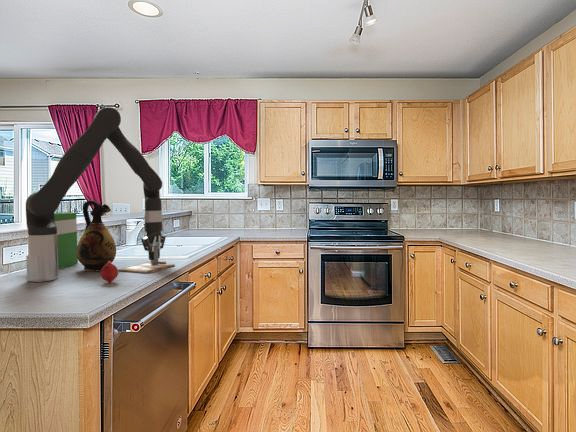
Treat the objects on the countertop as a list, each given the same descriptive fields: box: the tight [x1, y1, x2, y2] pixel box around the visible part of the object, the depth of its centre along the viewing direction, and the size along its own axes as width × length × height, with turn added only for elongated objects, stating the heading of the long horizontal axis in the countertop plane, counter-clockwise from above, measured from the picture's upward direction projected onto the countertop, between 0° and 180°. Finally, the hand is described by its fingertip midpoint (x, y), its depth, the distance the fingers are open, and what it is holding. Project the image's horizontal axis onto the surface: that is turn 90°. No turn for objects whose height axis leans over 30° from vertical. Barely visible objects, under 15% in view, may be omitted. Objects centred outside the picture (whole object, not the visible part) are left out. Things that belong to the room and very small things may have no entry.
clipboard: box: [117, 260, 176, 274], centre depth 167 cm, size 18×15×2 cm
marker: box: [150, 242, 159, 265], centre depth 171 cm, size 3×3×10 cm
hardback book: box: [54, 212, 79, 270], centre depth 172 cm, size 18×7×24 cm, turn 178°
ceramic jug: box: [77, 199, 117, 272], centre depth 165 cm, size 17×15×30 cm
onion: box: [100, 261, 119, 284], centre depth 140 cm, size 6×6×8 cm
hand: (154, 259), depth 171 cm, fingers closed on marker, 3 cm apart
